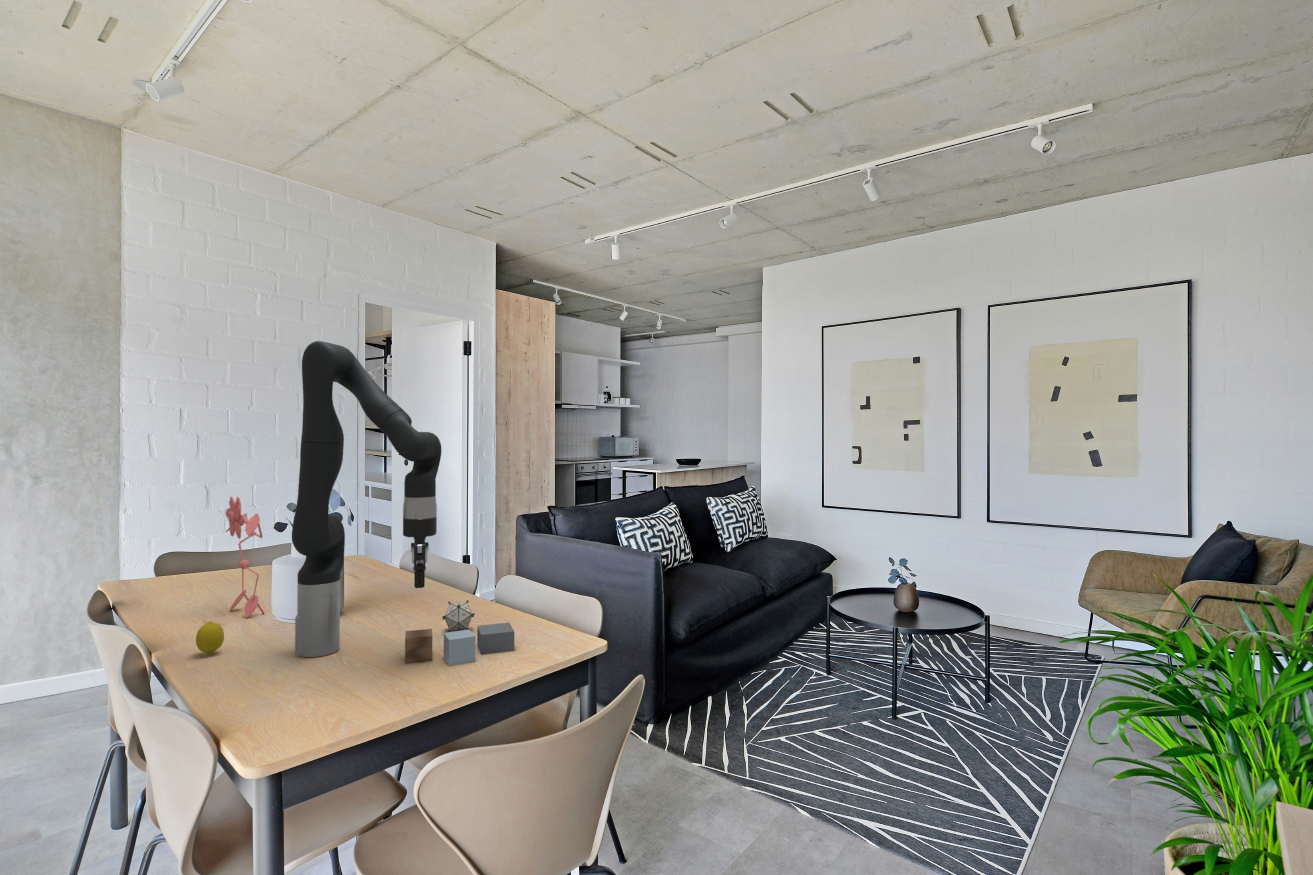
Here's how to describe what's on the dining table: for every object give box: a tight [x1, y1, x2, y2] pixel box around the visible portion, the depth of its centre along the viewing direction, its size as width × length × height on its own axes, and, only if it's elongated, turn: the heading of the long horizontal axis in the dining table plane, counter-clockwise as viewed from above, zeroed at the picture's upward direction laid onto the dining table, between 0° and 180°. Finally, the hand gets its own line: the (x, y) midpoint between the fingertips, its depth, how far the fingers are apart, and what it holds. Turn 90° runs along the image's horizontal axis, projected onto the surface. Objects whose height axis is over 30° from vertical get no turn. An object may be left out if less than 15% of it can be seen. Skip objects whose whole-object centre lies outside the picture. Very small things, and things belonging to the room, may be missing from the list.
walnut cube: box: [404, 628, 433, 665], centre depth 150 cm, size 6×6×6 cm
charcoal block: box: [476, 622, 515, 656], centre depth 158 cm, size 8×8×5 cm
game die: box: [442, 599, 476, 633], centre depth 171 cm, size 9×8×10 cm
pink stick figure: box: [225, 496, 265, 619], centre depth 183 cm, size 15×26×35 cm, turn 49°
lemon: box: [195, 620, 225, 656], centre depth 151 cm, size 6×6×8 cm
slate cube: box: [442, 629, 477, 667], centre depth 149 cm, size 6×6×6 cm
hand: (419, 583), depth 150 cm, fingers open, 8 cm apart
